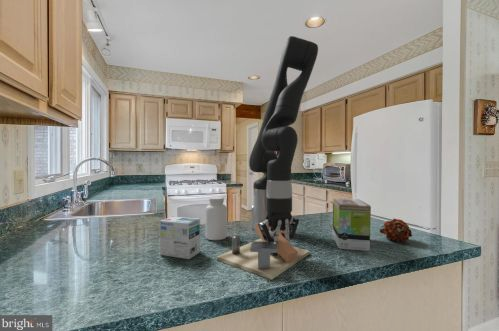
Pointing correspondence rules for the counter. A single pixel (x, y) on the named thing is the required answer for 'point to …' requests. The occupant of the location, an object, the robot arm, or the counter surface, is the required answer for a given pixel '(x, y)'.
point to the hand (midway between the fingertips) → (279, 253)
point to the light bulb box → (180, 237)
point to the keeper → (264, 252)
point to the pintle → (235, 244)
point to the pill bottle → (216, 219)
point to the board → (250, 261)
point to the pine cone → (396, 230)
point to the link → (281, 246)
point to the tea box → (351, 224)
